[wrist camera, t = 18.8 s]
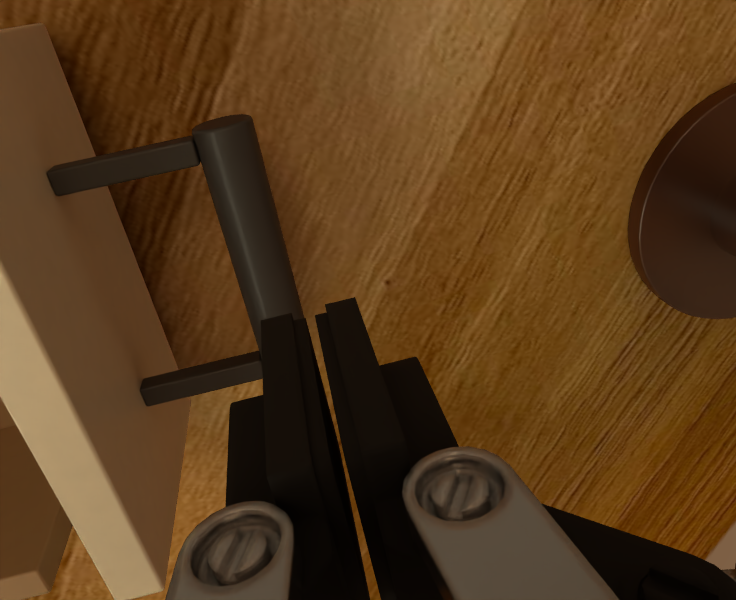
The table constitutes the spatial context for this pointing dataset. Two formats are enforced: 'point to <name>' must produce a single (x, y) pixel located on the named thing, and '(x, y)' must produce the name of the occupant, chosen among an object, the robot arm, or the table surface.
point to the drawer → (104, 329)
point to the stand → (690, 212)
